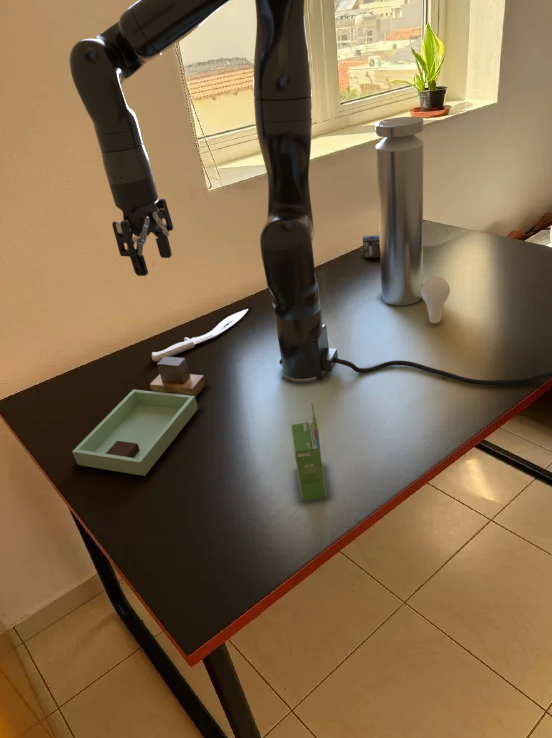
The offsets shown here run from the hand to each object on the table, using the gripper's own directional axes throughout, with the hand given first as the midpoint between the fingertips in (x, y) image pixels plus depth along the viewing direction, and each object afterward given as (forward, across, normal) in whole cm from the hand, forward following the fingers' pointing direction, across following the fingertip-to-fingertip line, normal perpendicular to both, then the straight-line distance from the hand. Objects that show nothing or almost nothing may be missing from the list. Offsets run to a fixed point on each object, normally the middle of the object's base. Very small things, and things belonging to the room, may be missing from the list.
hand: (154, 265), depth 106 cm
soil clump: (+26, -25, -1) cm, 36 cm away
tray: (+26, -19, 0) cm, 32 cm away
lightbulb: (+26, +32, -47) cm, 63 cm away
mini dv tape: (+26, +71, -25) cm, 80 cm away
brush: (+26, -4, 0) cm, 26 cm away
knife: (+26, +20, +6) cm, 34 cm away
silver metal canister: (+26, +45, -37) cm, 64 cm away
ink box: (+26, -24, -36) cm, 51 cm away
